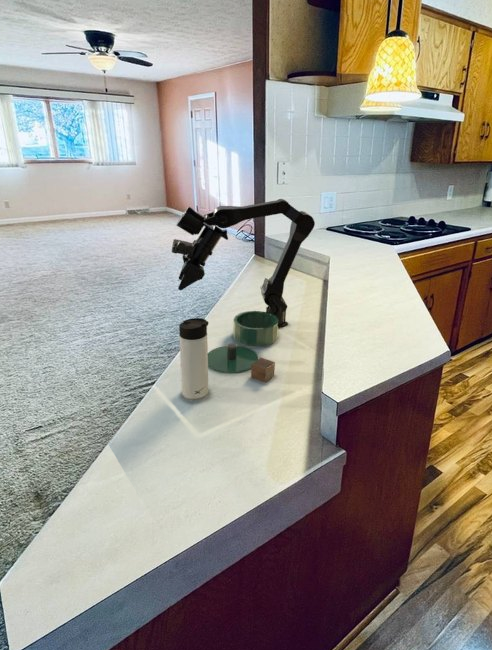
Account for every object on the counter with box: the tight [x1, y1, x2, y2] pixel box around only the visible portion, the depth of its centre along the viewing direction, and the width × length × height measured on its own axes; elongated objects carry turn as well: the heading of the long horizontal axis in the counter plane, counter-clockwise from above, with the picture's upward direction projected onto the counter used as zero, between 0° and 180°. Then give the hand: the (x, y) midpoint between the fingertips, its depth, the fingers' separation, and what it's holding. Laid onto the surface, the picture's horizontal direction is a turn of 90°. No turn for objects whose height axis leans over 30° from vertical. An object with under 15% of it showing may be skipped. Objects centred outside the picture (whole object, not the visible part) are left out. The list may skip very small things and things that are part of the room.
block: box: [250, 357, 276, 383], centre depth 108 cm, size 4×4×4 cm
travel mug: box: [178, 317, 209, 402], centre depth 96 cm, size 6×7×20 cm
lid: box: [208, 342, 259, 374], centre depth 115 cm, size 15×15×5 cm
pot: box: [232, 310, 279, 348], centre depth 129 cm, size 14×14×6 cm
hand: (179, 284), depth 129 cm, fingers open, 9 cm apart
